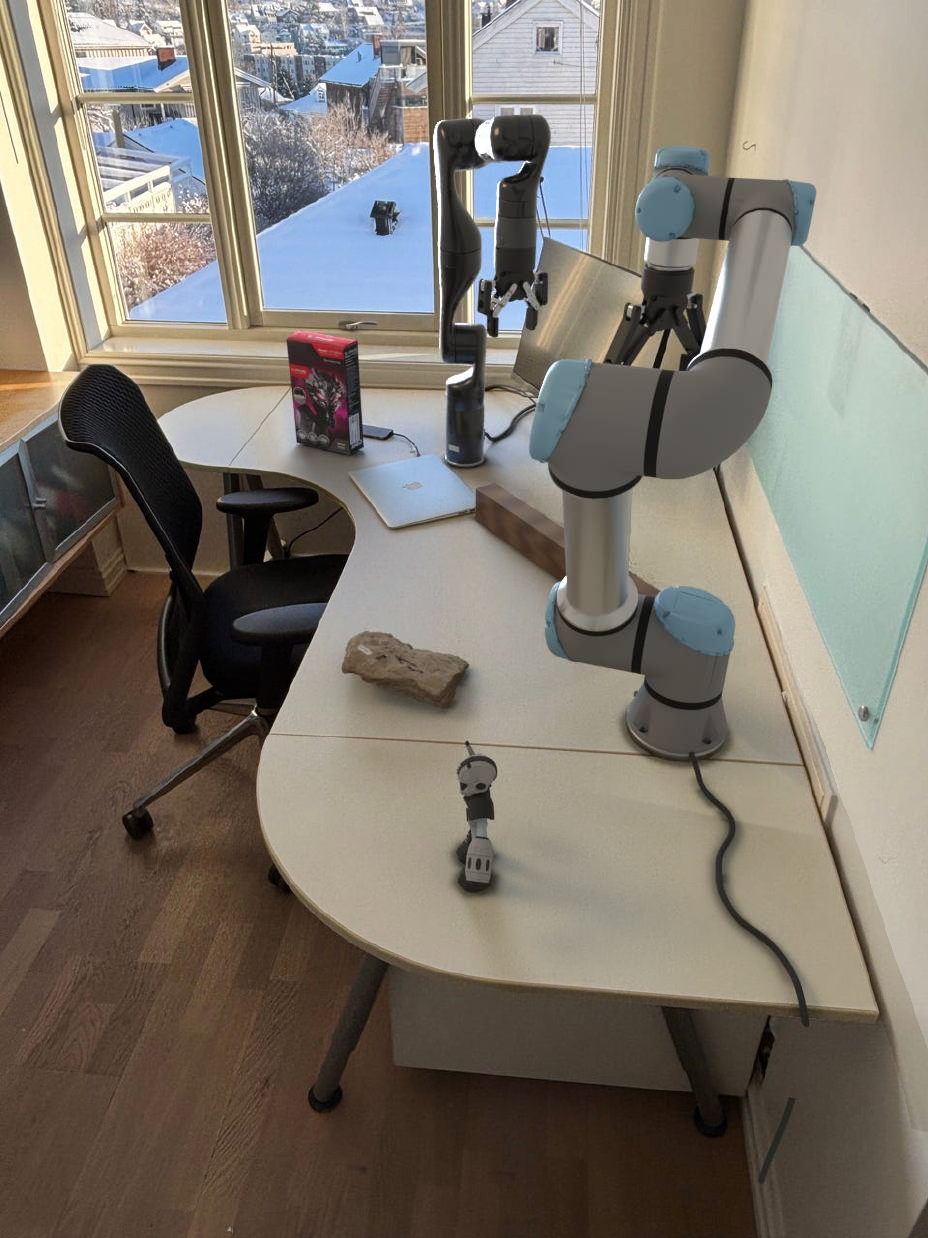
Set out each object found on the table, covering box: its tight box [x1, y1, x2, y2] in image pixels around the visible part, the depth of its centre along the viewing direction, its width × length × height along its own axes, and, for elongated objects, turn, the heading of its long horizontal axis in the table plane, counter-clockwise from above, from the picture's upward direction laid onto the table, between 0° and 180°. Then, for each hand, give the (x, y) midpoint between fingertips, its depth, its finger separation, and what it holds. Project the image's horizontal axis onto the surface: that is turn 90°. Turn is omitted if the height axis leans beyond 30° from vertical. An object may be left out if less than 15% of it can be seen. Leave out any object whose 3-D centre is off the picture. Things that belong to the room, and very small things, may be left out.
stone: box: [341, 630, 470, 709], centre depth 151 cm, size 21×15×6 cm
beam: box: [474, 482, 661, 597], centre depth 182 cm, size 53×5×7 cm, turn 33°
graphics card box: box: [285, 330, 365, 456], centre depth 225 cm, size 17×7×27 cm, turn 62°
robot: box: [455, 740, 498, 893], centre depth 114 cm, size 20×5×20 cm, turn 3°
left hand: (511, 332), depth 173 cm, fingers open, 8 cm apart
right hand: (651, 403), depth 147 cm, fingers open, 13 cm apart
